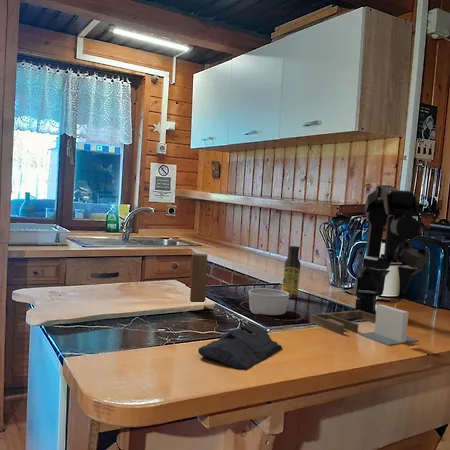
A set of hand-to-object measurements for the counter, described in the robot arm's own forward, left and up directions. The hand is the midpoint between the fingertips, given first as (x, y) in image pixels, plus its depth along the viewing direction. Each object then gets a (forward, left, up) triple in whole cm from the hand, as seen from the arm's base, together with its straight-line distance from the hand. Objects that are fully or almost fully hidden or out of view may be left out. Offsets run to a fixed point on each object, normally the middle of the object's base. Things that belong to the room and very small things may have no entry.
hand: (392, 293), depth 126 cm
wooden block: (+35, -47, -13) cm, 60 cm away
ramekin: (+15, -36, -13) cm, 41 cm away
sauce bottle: (-8, -54, -13) cm, 56 cm away
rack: (+1, -13, -13) cm, 18 cm away
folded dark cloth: (+44, -7, -14) cm, 47 cm away
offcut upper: (+8, -13, -12) cm, 20 cm away
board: (0, 0, -12) cm, 12 cm away
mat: (0, 0, -13) cm, 13 cm away
